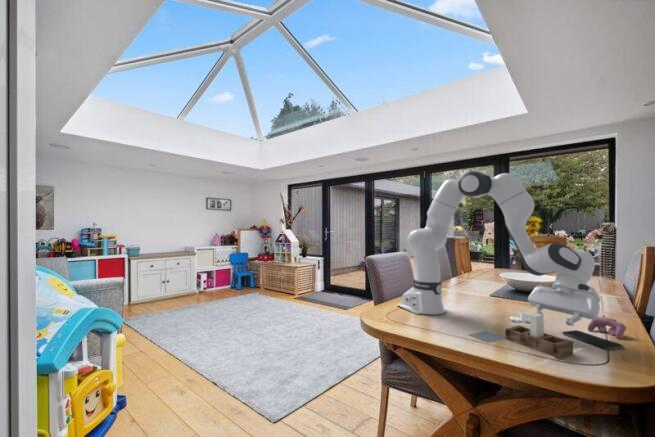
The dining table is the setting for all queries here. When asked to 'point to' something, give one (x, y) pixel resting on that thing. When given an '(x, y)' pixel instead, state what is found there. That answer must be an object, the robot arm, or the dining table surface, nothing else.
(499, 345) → the dining table surface
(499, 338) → the mat
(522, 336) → the rack
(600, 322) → the video game controller
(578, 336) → the phone
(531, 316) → the block
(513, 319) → the teacup and saucer
